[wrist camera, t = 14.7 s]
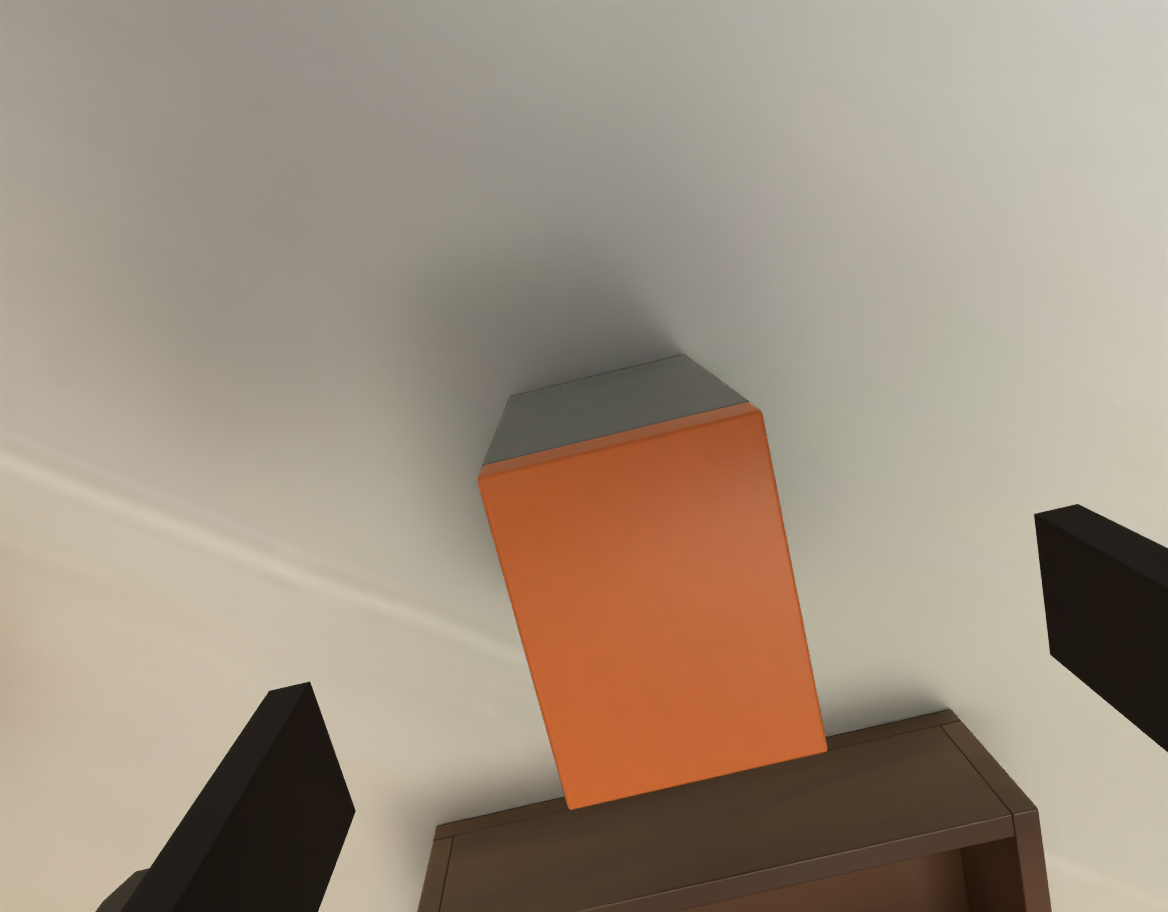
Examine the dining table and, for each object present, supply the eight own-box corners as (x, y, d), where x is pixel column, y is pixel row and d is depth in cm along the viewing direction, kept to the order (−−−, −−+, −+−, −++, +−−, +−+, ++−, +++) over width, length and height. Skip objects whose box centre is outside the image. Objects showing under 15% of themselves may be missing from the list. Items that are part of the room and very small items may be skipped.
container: (509, 396, 28) (475, 478, 17) (685, 353, 28) (762, 409, 17) (566, 614, 30) (568, 812, 19) (732, 575, 29) (829, 752, 19)
